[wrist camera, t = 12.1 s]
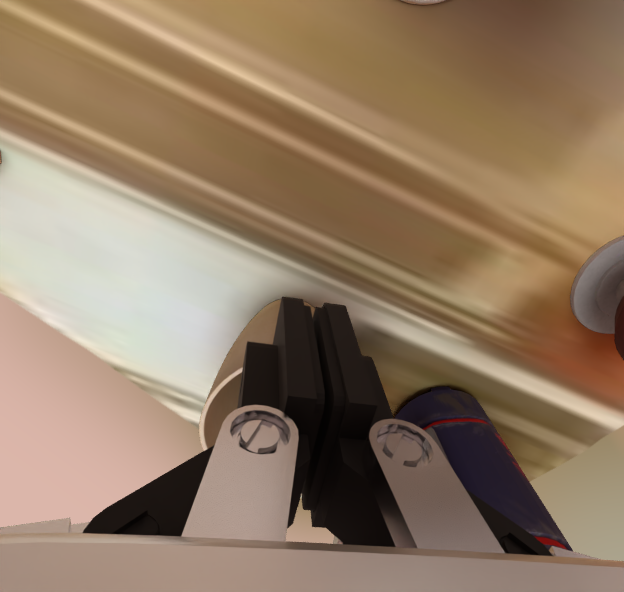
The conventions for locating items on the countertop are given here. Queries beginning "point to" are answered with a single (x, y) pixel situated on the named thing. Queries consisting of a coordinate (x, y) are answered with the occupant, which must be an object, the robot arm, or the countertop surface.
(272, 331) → the plant pot
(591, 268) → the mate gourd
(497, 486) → the smoke canister
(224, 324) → the countertop surface
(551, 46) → the countertop surface
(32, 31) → the countertop surface
